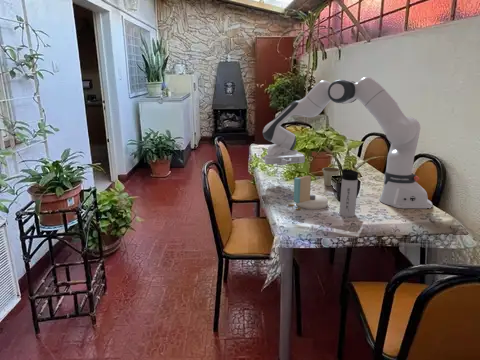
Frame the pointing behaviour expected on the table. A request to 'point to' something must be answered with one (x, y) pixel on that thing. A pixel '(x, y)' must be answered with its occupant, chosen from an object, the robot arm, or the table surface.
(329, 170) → the flower pot
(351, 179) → the travel mug
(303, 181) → the white base with panel
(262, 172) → the table surface
